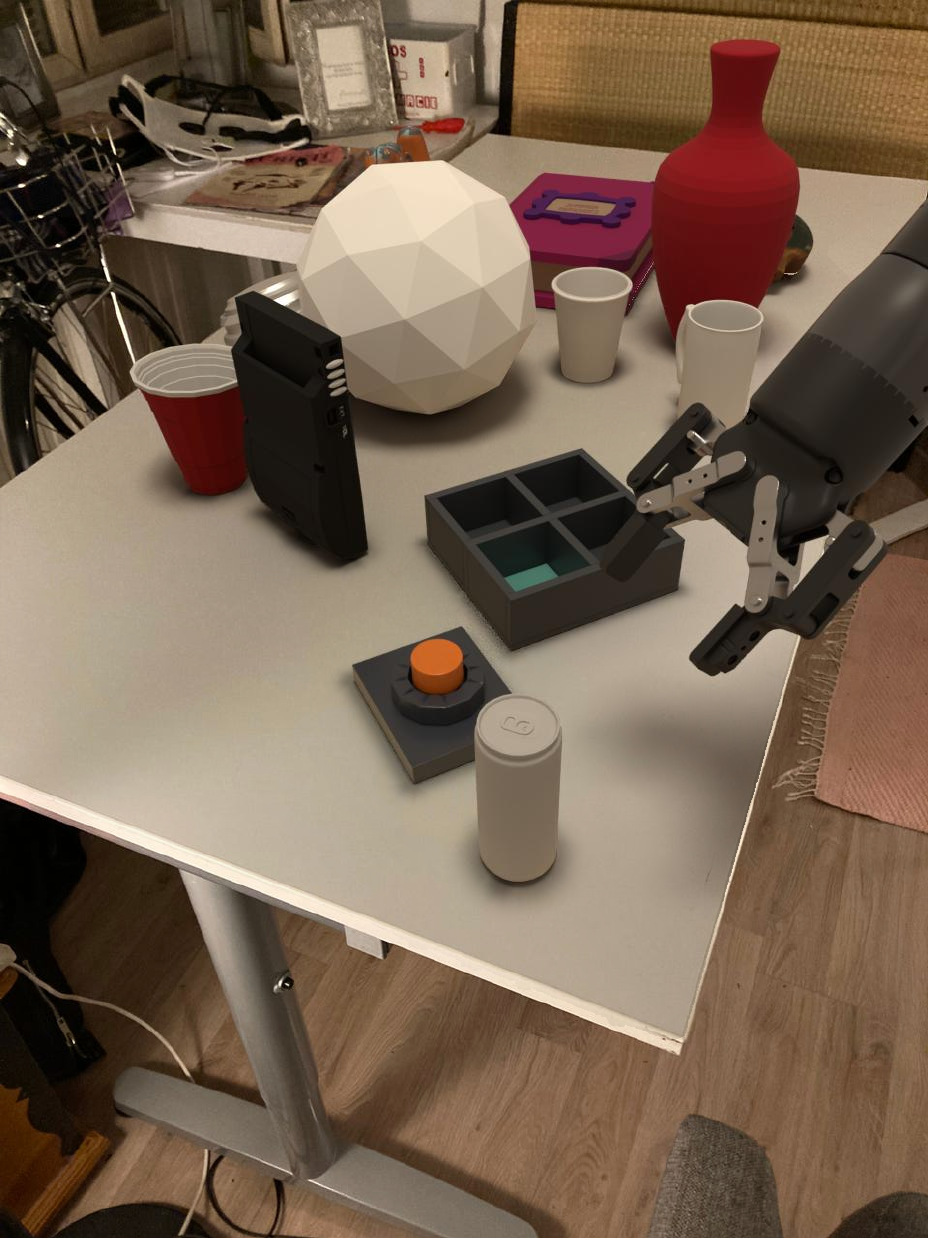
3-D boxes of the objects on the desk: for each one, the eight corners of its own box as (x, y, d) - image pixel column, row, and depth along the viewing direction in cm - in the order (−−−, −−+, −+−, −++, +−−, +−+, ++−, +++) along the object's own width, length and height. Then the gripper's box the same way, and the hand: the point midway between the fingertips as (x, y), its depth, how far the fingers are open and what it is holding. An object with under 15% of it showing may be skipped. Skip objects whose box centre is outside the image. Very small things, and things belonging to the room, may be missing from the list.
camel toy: (407, 223, 143) (398, 93, 132) (491, 234, 139) (489, 100, 127) (324, 290, 126) (305, 147, 115) (416, 304, 122) (406, 157, 110)
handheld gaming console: (374, 552, 84) (348, 334, 71) (332, 575, 82) (297, 354, 69) (295, 495, 91) (258, 287, 78) (254, 515, 89) (209, 304, 76)
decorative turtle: (799, 250, 131) (815, 190, 125) (809, 305, 120) (827, 242, 115) (725, 245, 132) (738, 185, 126) (729, 299, 121) (743, 236, 116)
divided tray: (678, 589, 79) (685, 539, 76) (511, 651, 74) (511, 600, 71) (579, 495, 90) (582, 447, 86) (427, 544, 85) (423, 495, 81)
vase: (797, 345, 110) (860, 43, 90) (710, 387, 104) (757, 72, 84) (698, 304, 119) (735, 21, 99) (611, 341, 113) (633, 46, 93)
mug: (757, 437, 96) (779, 321, 88) (699, 454, 94) (717, 337, 86) (698, 393, 103) (713, 282, 95) (643, 407, 101) (654, 295, 93)
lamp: (533, 427, 87) (440, 142, 77) (232, 491, 104) (121, 263, 93) (594, 343, 105) (526, 102, 94) (329, 409, 121) (245, 209, 111)
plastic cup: (298, 465, 95) (279, 351, 87) (221, 522, 88) (193, 404, 80) (216, 437, 99) (190, 325, 91) (137, 489, 93) (102, 373, 85)
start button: (472, 685, 67) (471, 663, 66) (425, 702, 66) (423, 681, 65) (450, 653, 70) (448, 632, 69) (404, 669, 69) (402, 648, 67)
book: (462, 297, 123) (460, 236, 118) (533, 220, 142) (534, 165, 137) (624, 319, 117) (629, 256, 112) (675, 236, 136) (682, 179, 131)
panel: (532, 736, 68) (532, 702, 65) (414, 784, 65) (410, 749, 63) (462, 642, 75) (461, 607, 73) (354, 680, 72) (349, 646, 70)
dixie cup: (573, 395, 103) (577, 305, 97) (535, 363, 109) (537, 276, 102) (640, 377, 106) (648, 287, 99) (599, 347, 112) (605, 260, 105)
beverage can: (539, 898, 58) (543, 769, 50) (466, 870, 60) (459, 741, 52) (567, 836, 61) (575, 706, 53) (497, 812, 63) (495, 681, 55)
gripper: (742, 284, 51) (545, 525, 55) (957, 403, 41) (698, 685, 45) (803, 355, 56) (618, 570, 60) (1006, 475, 46) (769, 723, 50)
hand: (653, 619), depth 52 cm, fingers open, 8 cm apart
